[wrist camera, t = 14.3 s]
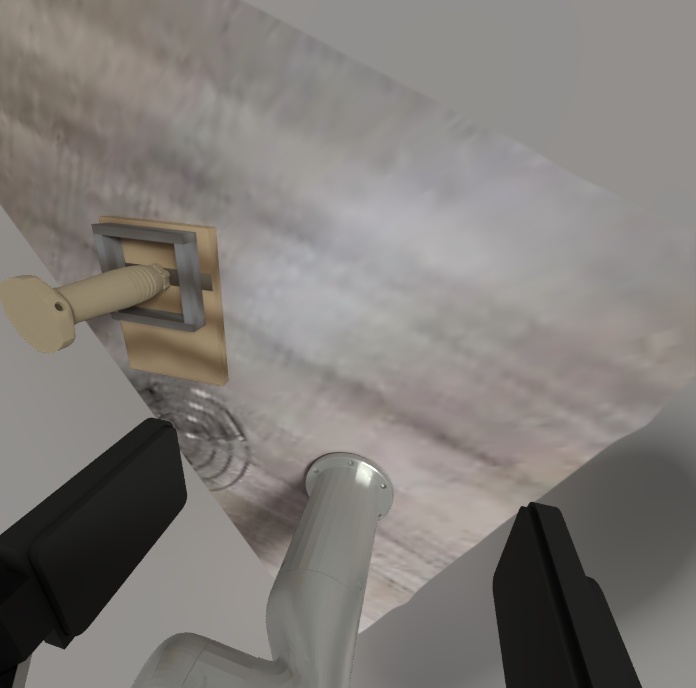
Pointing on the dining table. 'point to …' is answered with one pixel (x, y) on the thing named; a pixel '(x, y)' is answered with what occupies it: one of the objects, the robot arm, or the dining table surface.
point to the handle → (75, 302)
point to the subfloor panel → (170, 297)
